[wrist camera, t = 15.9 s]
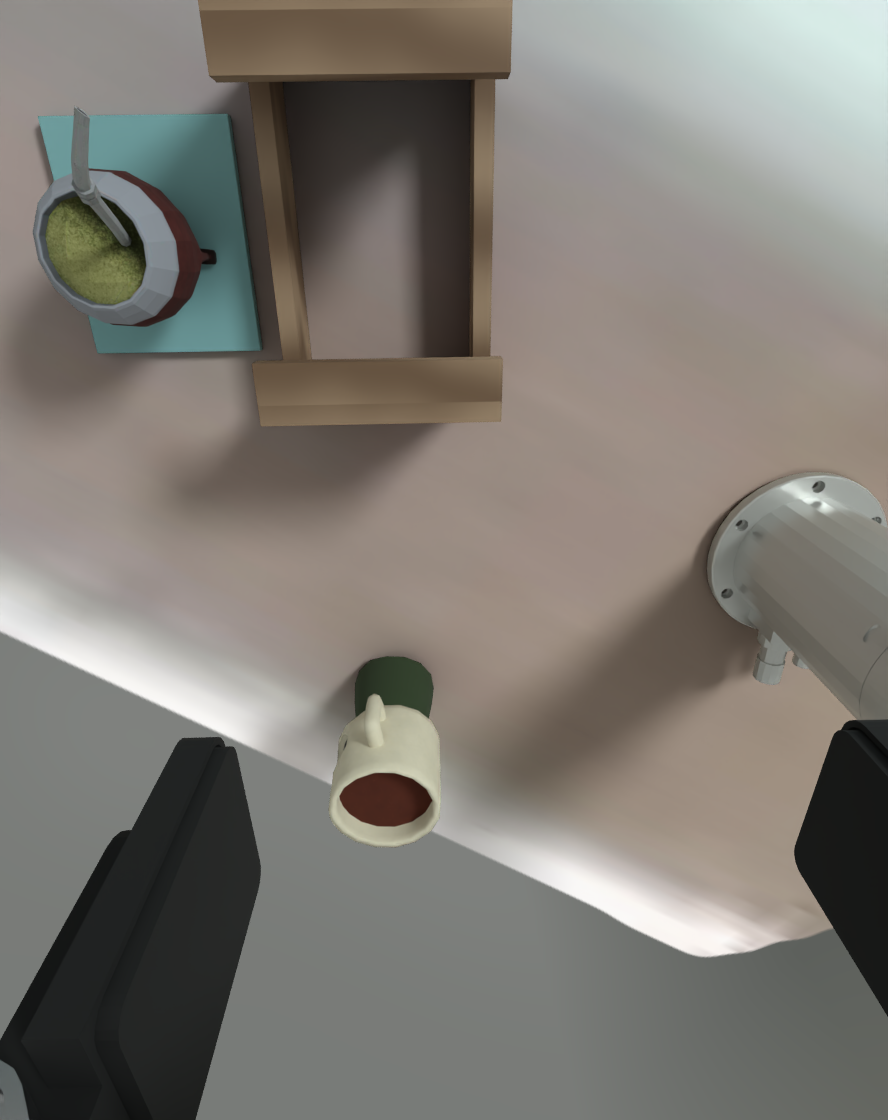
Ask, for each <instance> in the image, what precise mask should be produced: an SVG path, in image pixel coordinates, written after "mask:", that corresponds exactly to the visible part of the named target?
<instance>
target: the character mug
mask: <svg viewBox="0 0 888 1120" xmlns="http://www.w3.org/2000/svg"><path fill="white" fill-rule="evenodd" d="M433 689H434V688H433V683H432V678H431V674H430V673H429V672H428V671H427V670H426V669H425V668H424V666H423V665H422V664H421V663H418V662H416V661H413V660H411V659H408V658H406V657H389V656H386V657H382V658H378V659H374V660H370V661H369V662H368V663H367V664H366V665H365V666H364V667H363V668H362V669H361V670H360V671H359V674H358V677H357V680H356V683H355V713H356V718H355V719H354V720H352V721H351V722H350V723H348V724H347V725H346V727H345V728H344V730H343V733H342V735H341V737H340V739H339V747H338V760H337V765H336V768H335V770H334V772H333V780H332V787H331V793H330V802H329V816H330V818H331V820H332V822H333V824H334V825H335V826H336V828H337V829H338V830H339V831H340V832H341V833H342V834H344V835H346V836H347V837H349V838H351V839H352V840H354V841H355V842H359V843H362V844H366V845H369V846H373V847H399V846H403V845H406V844H410V843H414V842H416V841H417V840H419V839H420V838H422V837H423V836H425V835H426V834H428V833H429V832H431V830H432V829H433V827H434V826H435V824H436V823H437V821H438V819H439V818H440V804H441V782H440V741H439V734H438V733H437V731H436V729H435V727H434V725H433V723H432V721H431V720H430V719H429V714H430V710H431V705H432V697H433Z"/></svg>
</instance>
